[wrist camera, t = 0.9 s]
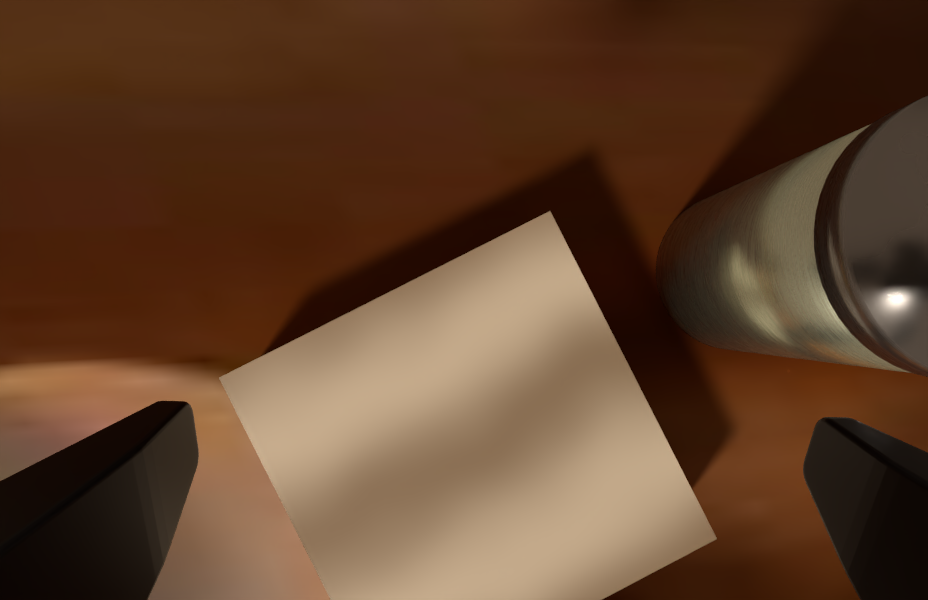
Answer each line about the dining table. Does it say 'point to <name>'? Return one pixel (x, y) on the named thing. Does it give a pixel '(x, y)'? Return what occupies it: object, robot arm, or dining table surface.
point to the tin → (813, 254)
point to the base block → (471, 438)
